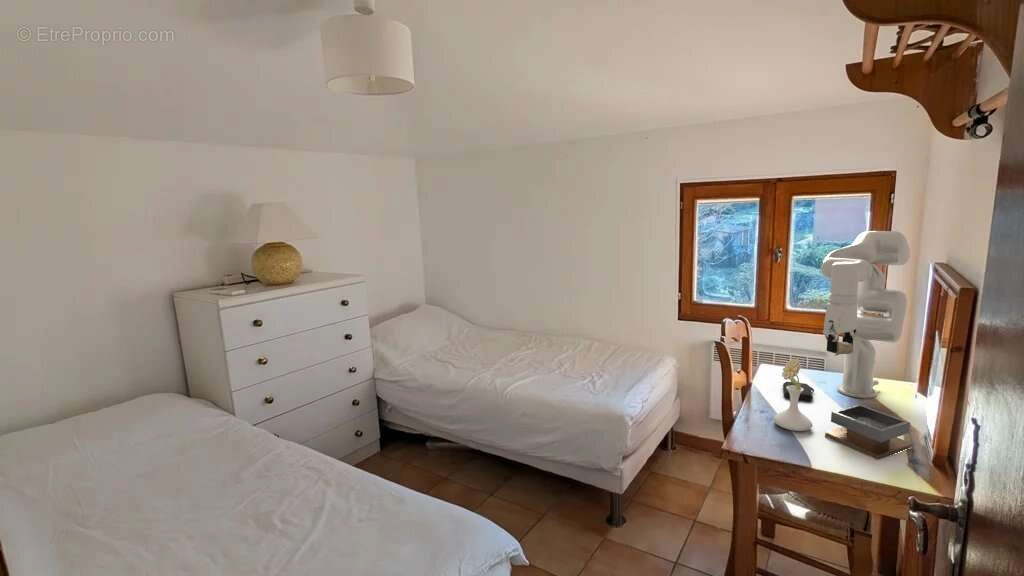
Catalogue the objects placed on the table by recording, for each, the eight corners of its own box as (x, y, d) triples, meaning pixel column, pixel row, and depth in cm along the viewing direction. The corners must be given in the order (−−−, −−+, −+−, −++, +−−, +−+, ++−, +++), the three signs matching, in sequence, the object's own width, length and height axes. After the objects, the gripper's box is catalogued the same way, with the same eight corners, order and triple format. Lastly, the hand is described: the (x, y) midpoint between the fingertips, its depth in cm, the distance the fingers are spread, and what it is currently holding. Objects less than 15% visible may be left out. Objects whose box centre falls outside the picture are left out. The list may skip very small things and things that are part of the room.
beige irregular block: (857, 355, 155) (839, 328, 157) (836, 362, 159) (819, 336, 161) (857, 349, 162) (840, 323, 164) (837, 356, 166) (821, 330, 168)
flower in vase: (773, 417, 169) (777, 349, 165) (811, 422, 164) (815, 353, 159) (773, 432, 158) (777, 360, 153) (813, 439, 152) (819, 365, 148)
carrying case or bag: (816, 404, 179) (812, 390, 191) (816, 396, 178) (813, 383, 191) (783, 399, 184) (782, 386, 196) (784, 392, 183) (783, 379, 196)
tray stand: (858, 426, 159) (860, 402, 158) (912, 448, 145) (915, 422, 143) (825, 436, 154) (826, 411, 152) (877, 459, 139) (880, 432, 138)
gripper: (849, 294, 164) (845, 343, 168) (813, 300, 158) (810, 351, 162) (872, 297, 158) (868, 349, 161) (836, 304, 152) (832, 357, 155)
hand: (839, 349), depth 161 cm, fingers closed on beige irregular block, 6 cm apart
